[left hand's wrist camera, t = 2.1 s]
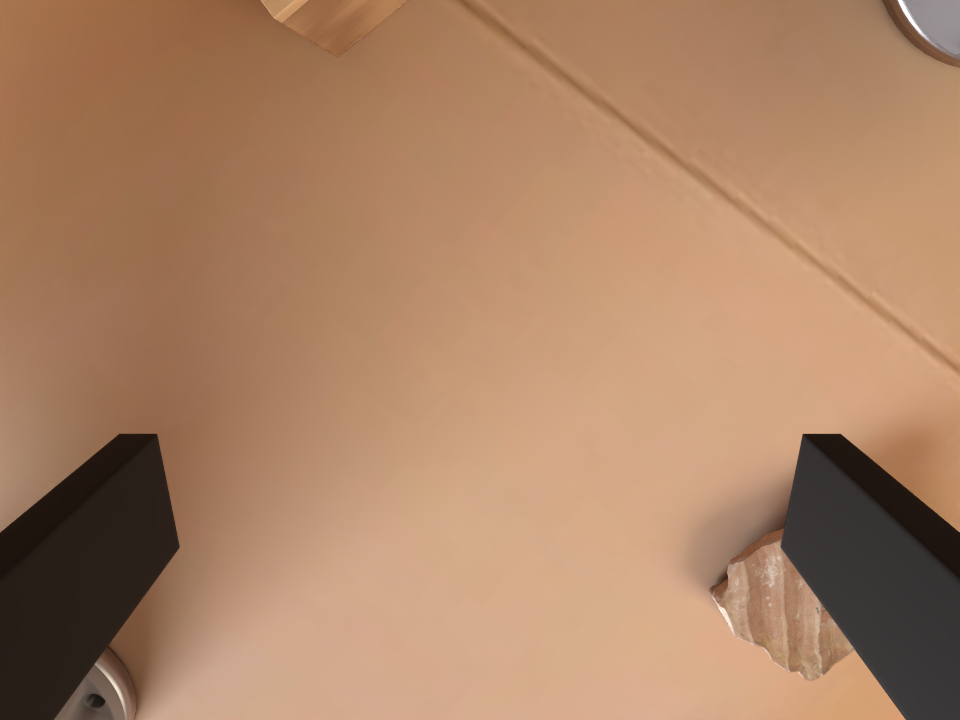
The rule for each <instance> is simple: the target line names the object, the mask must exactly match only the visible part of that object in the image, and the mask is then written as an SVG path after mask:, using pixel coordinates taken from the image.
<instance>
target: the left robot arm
mask: <svg viewBox="0 0 960 720" xmlns="http://www.w3.org/2000/svg"><path fill="white" fill-rule="evenodd" d="M883 2H884V4H885V7H886V9H887V11H888V13H889V15H890V16H891V18H892V19H893V21H894V23H895V24H896V26H897V27H898V28H899V29H900V31H901V32H902V33H903V34H904V36H905V37H906V38H907V39H908V40H909V41H910V42H912V43H913V44H914V45H915V46H916V47H917V48H919V49H920V50H921V51H923V52H924V53H926V54H927V55H929V56H931V57H933V58H934V59H936V60H939V61H941V62H944V63H946V64H949V65H952V66H956V67H960V0H883ZM179 548H180V546H179V541H178V536H177V531H176V526H175V521H174V516H173V511H172V506H171V501H170V496H169V491H168V486H167V481H166V476H165V471H164V466H163V461H162V456H161V451H160V446H159V441H158V436H157V434H119V435H118V436H116V437H115V438H114V439H113V440H111V441H110V442H109V443H108V444H107V445H105V446H104V447H103V448H102V449H101V450H99V451H98V452H97V453H96V454H95V455H93V456H92V457H91V458H90V459H89V460H87V461H86V462H85V463H84V464H83V465H81V466H80V467H79V468H78V469H77V470H75V471H74V472H73V473H72V474H70V475H69V476H68V477H67V478H66V479H64V480H63V481H62V482H61V483H60V484H58V485H57V486H56V487H55V488H54V489H52V490H51V491H50V492H49V493H48V494H46V495H45V496H44V497H43V498H42V499H40V500H39V501H38V502H37V503H35V504H34V505H33V506H32V507H31V508H29V509H28V510H27V511H26V512H25V513H23V514H22V515H21V516H20V517H19V518H17V519H16V520H15V521H14V522H13V523H11V524H10V525H9V526H8V527H7V528H5V529H4V530H3V531H2V532H1V533H0V720H54V719H55V718H56V716H57V715H58V714H59V712H60V711H61V710H62V708H63V707H64V705H65V704H66V703H67V701H68V700H69V699H70V697H71V696H72V694H73V693H74V692H75V690H76V689H77V688H78V686H79V685H80V683H81V682H82V681H83V679H84V678H85V677H86V675H87V674H88V672H89V671H90V670H91V668H92V667H93V666H94V664H95V663H96V662H97V660H98V659H99V657H100V656H101V655H102V653H103V652H104V651H105V649H106V648H107V646H108V645H109V644H110V642H111V641H112V640H113V638H114V637H115V635H116V634H117V633H118V631H119V630H120V629H121V627H122V626H123V624H124V623H125V622H126V620H127V619H128V618H129V616H130V615H131V613H132V612H133V611H134V609H135V608H136V607H137V605H138V604H139V602H140V601H141V600H142V598H143V597H144V596H145V594H146V593H147V591H148V590H149V589H150V587H151V586H152V585H153V583H154V582H155V581H156V579H157V578H158V576H159V575H160V574H161V572H162V571H163V570H164V568H165V567H166V565H167V564H168V563H169V561H170V560H171V559H172V557H173V556H174V554H175V553H176V552H177V550H178V549H179ZM780 548H781V549H782V550H783V552H784V553H785V554H786V556H787V557H788V559H789V560H790V561H791V563H792V564H793V565H794V567H795V568H796V570H797V571H798V572H799V574H800V575H801V576H802V578H803V579H804V581H805V582H806V583H807V585H808V586H809V587H810V589H811V590H812V591H813V593H814V594H815V596H816V597H817V598H818V600H819V601H820V602H821V604H822V605H823V607H824V608H825V609H826V611H827V612H828V613H829V615H830V616H831V618H832V619H833V620H834V622H835V623H836V624H837V626H838V627H839V629H840V630H841V631H842V633H843V634H844V635H845V637H846V638H847V640H848V641H849V642H850V644H851V645H852V646H853V648H854V649H855V651H856V652H857V653H858V655H859V656H860V657H861V659H862V660H863V662H864V663H865V664H866V666H867V667H868V668H869V670H870V671H871V672H872V674H873V675H874V677H875V678H876V679H877V681H878V682H879V683H880V685H881V686H882V688H883V689H884V690H885V692H886V693H887V694H888V696H889V697H890V699H891V700H892V701H893V703H894V704H895V705H896V707H897V708H898V710H899V711H900V712H901V714H902V715H903V716H904V718H905V719H906V720H960V533H959V532H958V531H957V530H956V529H955V528H953V527H952V526H951V525H950V524H949V523H947V522H946V521H945V520H944V519H943V518H941V517H940V516H939V515H938V514H937V513H935V512H934V511H933V510H932V509H931V508H929V507H928V506H927V505H926V504H925V503H923V502H922V501H921V500H920V499H918V498H917V497H916V496H915V495H914V494H912V493H911V492H910V491H909V490H908V489H906V488H905V487H904V486H903V485H902V484H900V483H899V482H898V481H897V480H896V479H894V478H893V477H892V476H891V475H890V474H888V473H887V472H886V471H885V470H883V469H882V468H881V467H880V466H879V465H877V464H876V463H875V462H874V461H873V460H871V459H870V458H869V457H868V456H867V455H865V454H864V453H863V452H862V451H861V450H859V449H858V448H857V447H856V446H855V445H853V444H852V443H851V442H850V441H849V440H847V439H846V438H845V437H844V436H842V435H841V434H803V436H802V441H801V446H800V451H799V456H798V461H797V466H796V471H795V476H794V481H793V486H792V491H791V496H790V501H789V506H788V511H787V516H786V521H785V526H784V531H783V536H782V541H781V546H780Z"/></svg>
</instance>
